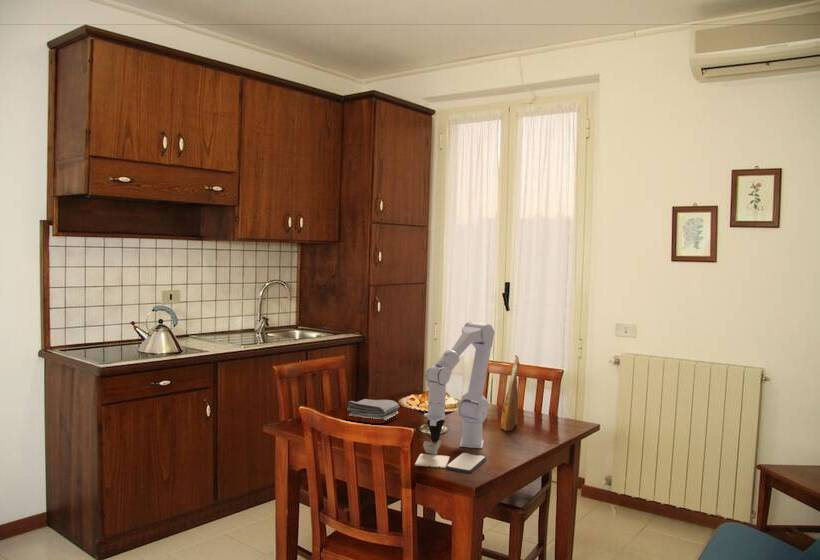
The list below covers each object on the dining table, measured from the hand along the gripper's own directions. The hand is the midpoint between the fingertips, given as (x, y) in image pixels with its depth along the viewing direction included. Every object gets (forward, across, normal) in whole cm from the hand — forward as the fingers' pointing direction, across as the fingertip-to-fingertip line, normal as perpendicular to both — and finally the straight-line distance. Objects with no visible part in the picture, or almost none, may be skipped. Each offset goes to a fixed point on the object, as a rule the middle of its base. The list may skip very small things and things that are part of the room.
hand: (435, 441), depth 214 cm
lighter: (+4, -2, 0) cm, 5 cm away
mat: (+5, +5, 0) cm, 7 cm away
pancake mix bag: (+5, -47, +24) cm, 53 cm away
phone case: (+6, +5, +11) cm, 13 cm away
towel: (+5, -42, -32) cm, 53 cm away
